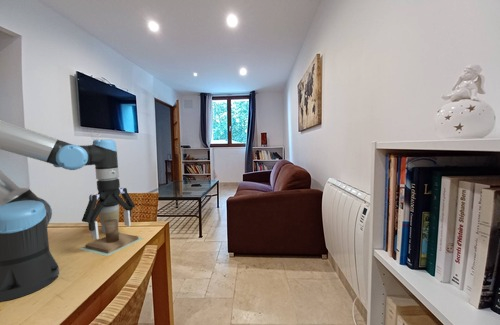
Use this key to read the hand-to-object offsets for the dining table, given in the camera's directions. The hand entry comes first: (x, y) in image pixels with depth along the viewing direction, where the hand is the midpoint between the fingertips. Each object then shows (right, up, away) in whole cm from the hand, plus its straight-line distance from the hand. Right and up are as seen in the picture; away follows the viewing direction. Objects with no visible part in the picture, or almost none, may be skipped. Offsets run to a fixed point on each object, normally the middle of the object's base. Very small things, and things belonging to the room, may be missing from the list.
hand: (112, 231), depth 90 cm
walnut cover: (0, -5, 0) cm, 5 cm away
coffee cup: (-10, -5, +14) cm, 18 cm away
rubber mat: (0, -5, 0) cm, 5 cm away
